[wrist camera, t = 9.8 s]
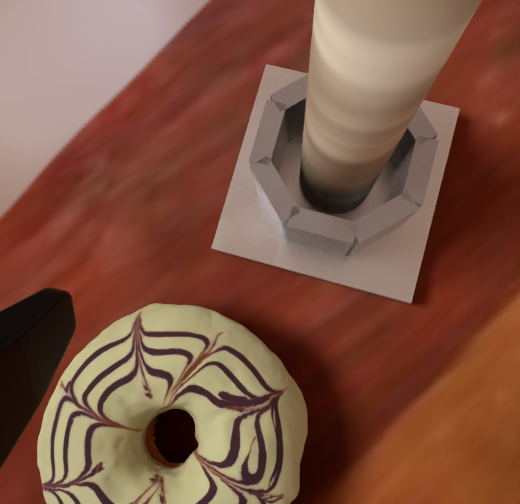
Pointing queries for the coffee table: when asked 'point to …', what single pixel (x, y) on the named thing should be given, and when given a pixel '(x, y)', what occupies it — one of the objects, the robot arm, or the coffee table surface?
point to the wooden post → (369, 88)
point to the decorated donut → (166, 398)
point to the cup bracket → (326, 224)
